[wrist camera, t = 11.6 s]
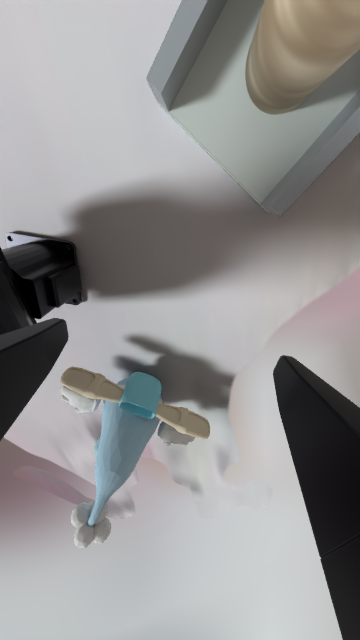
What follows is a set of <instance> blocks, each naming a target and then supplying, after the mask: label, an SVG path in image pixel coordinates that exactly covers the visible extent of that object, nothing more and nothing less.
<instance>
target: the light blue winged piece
mask: <svg viewBox="0 0 360 640" xmlns="http://www.w3.org/2000/svg"><path fill="white" fill-rule="evenodd" d="M60 382H61V383H62V385H63V387H62V388H61V393H62V394H63V395H62V396H61V399H62V400H63V401H65V402H67V403H69V404H71V405H72V406H74V407H75V409H74V411H75V412H77V413H85V412H90V411H93V412H94V411H95V410H96V409H97V407H98V405H99V403H100V401H101V400H104V406H103V410H102V431H101V437H100V438H99V439H98V441H97V442H96V444H95V448H94V449H95V456H96V463H95V480H96V488H97V493H96V500H94V501H91V502H88V503H86V502H84V503H80V504H78V505H77V506H76V507H75V508H74V509H73V512H72V515H71V523H72V525H73V526H74V527H77V529H76V532H75V536H74V543H75V544H76V546H77V547H78V548H86V547H87V546H88V545H89V544H90V543H91V542H92V540H93V541H94V542H96V543H103V542H104V541H105V540H106V539H107V537H108V536H109V534H110V530H111V523H110V521H109V520H108V518H106V515H107V512H108V509H107V504H106V502H107V501H108V500H109V498H110V497H111V496H112V494H113V493H114V492H115V491H116V490H117V489H119V488H120V487H121V486H122V485H123V484H124V483H125V481H126V480H127V479H128V477H129V476H130V475H131V473H132V472H133V470H134V468H135V466H136V464H137V462H138V460H139V458H140V456H141V454H142V452H143V450H144V448H145V446H146V444H147V443H148V441H149V440H150V438H151V436H152V435H153V433H154V432H155V430H156V428H157V425H158V423H159V421H160V420H162V423H161V424H160V426H159V429H158V436H160V438H161V440H162V441H163V443H164V444H166V445H167V446H168V445H170V444H171V443H174V444H181V445H187V444H188V442H192V441H193V440H194V438H195V437H197V438H202V439H207V438H208V437H209V434H210V425H209V422H208V420H207V419H205V418H204V417H202V416H200V415H198V414H196V413H194V412H192V411H189V410H188V409H187V408H183V407H174V406H170V405H166V404H164V403H163V402H162V398H161V395H160V394H161V390H162V386H161V383H160V381H159V380H158V379H156V378H155V377H153V376H151V375H149V374H146V373H142V372H134V373H132V374H131V375H130V377H129V378H126V379H123V380H121V381H120V382H118V383H117V384H115V383H113V382H111V381H110V380H108V379H106V378H105V376H103V375H101V374H99V373H94V372H91V371H88V370H85V369H83V368H77V367H70V368H68V369H67V370H66V371H65V372H64V373H63V374H62V376H61V380H60Z"/></svg>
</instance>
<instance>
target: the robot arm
mask: <svg viewBox="0 0 360 640" xmlns="http://www.w3.org/2000/svg"><path fill="white" fill-rule="evenodd" d="M11 237H12V238H13V240H12V239H11ZM5 240H6V244H7V248H6V249H2V250H1V248H0V441H1V439H2V438H3V437H4V435H5V434H6V433H7V431H8V430H9V428H10V427H11V426H12V424H13V423H14V421H15V420H16V419H17V417H18V416H19V414H20V413H21V412H22V410H23V409H24V407H25V406H26V405H27V403H28V402H29V400H30V399H31V398H32V396H33V395H34V394H35V392H36V391H37V389H38V388H39V387H40V385H41V384H42V382H43V381H44V380H45V378H46V377H47V375H48V374H49V372H50V371H51V369H52V368H53V366H54V364H55V362H56V361H57V359H58V357H59V355H60V353H61V352H62V350H63V348H64V346H65V345H66V343H67V341H68V331H67V325H66V321H65V320H63V319H58V318H53V319H49V320H46V321H43V322H40V323H36V320H35V318H36V319H41V318H42V317H43V316H45V315H46V314H47V313H49V312H50V311H51V310H53V309H54V308H55V307H56V308H59V307H60V306H61V305H63V304H64V303H66V304H72V305H78V304H80V303H81V301H82V299H81V289H82V288H81V279H80V270H79V266H78V265H77V256H76V248H75V245H74V244H73V243H72V242H70V241H64V240H57V239H51V238H45V237H38V236H32V235H26V234H19V233H13V232H10V233H6V234H5ZM68 245H69V246H70V247H71V250H70V249H69V248H68ZM75 299H76V300H77V301H76V300H75ZM273 376H274V383H275V389H276V395H277V402H278V407H279V411H280V415H281V419H282V423H283V426H284V430H285V433H286V437H287V441H288V444H289V448H290V451H291V455H292V459H293V462H294V466H295V469H296V473H297V476H298V480H299V484H300V487H301V491H302V494H303V498H304V501H305V505H306V509H307V512H308V516H309V519H310V523H311V526H312V530H313V534H314V537H315V541H316V545H317V548H318V552H319V555H320V557H321V563H322V567H323V570H324V574H325V577H326V581H327V585H328V588H329V592H330V595H331V599H332V603H333V606H334V609H335V613H336V616H337V620H338V624H339V628H340V631H341V634H342V638H343V640H360V408H359V407H358V406H357V405H355V404H354V403H353V402H351V401H350V400H349V399H347V398H346V397H345V396H343V395H342V394H341V393H339V392H338V391H337V390H335V389H334V388H333V387H332V386H330V385H329V384H327V383H326V382H325V381H324V380H322V379H321V378H320V377H318V376H317V375H316V374H314V373H313V372H312V371H310V370H309V369H308V368H306V367H305V366H304V365H303V364H301V363H300V362H299V361H297V360H296V359H295V358H293V357H291V356H285V355H283V356H281V357H280V359H279V360H278V362H277V365H276V367H275V369H274V372H273Z"/></svg>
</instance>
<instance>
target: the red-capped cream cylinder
mask: <svg viewBox="0 0 360 640" xmlns="http://www.w3.org/2000/svg"><path fill="white" fill-rule="evenodd" d="M359 49H360V0H265V1H264V4H263V8H262V11H261V14H260V17H259V20H258V23H257V26H256V29H255V32H254V35H253V38H252V41H251V45H250V48H249V51H248V55H247V60H246V68H245V79H246V86H247V91H248V93H249V96H250V98H251V100H252V102H253V103H254V105H255V106H256V107H257V108H258V109H259V110H261V111H262V112H264V113H267V114H271V115H279V114H283V113H286V112H289V111H291V110H292V109H294V108H296V107H297V106H298V105H299V104H301V103H302V102H303V101H304V100H305V99H306V98H307V97H308V96H309V95H310V94H311V93H312V92H313V91H315V90H316V89H317V88H318V87H319V86H320V85H321V84H322V83H323V82H324V81H325V80H326V79H328V78H329V77H330V76H331V75H332V74H333V73H334V72H335V71H336V70H337V69H338V68H339V67H341V66H342V65H343V64H344V63H345V62H346V61H347V60H348V59H349V58H350V57H351V56H352V55H353V54H355V53H356V52H357V51H358V50H359Z"/></svg>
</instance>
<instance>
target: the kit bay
mask: <svg viewBox="0 0 360 640" xmlns="http://www.w3.org/2000/svg"><path fill="white" fill-rule="evenodd" d="M264 1H265V0H182V1H181V4H180V6H179V8H178V10H177V12H176V14H175V17H174V19H173V21H172V23H171V25H170V28H169V30H168V32H167V34H166V36H165V38H164V41H163V43H162V45H161V47H160V49H159V51H158V54H157V56H156V58H155V60H154V62H153V64H152V67H151V69H150V71H149V73H148V75H147V77H146V79H147V81H148V83H149V85H150V88H151V90H152V92H153V94H154V96H155V98H156V100H157V102H158V104H159V105H160V106H161V107H162V108H163V109H164V110H165V111H166V112H167V113H168V114H169V115H170V116H171V117H172V118H173V119H174V120H175V121H176V122H177V123H178V124H179V125H180V126H181V127H182V128H183V129H184V130H185V131H186V132H187V133H188V134H189V135H190V136H191V137H192V138H193V139H194V140H195V141H196V142H197V143H198V144H199V145H200V146H201V147H202V148H203V149H204V150H205V151H206V152H207V153H208V154H209V155H210V156H211V157H212V158H213V159H214V160H215V161H216V162H217V163H218V164H219V165H220V166H221V167H222V168H223V169H224V170H225V171H226V172H227V173H228V174H229V175H230V176H231V177H232V178H233V179H234V180H235V181H236V182H237V183H238V184H239V185H240V186H241V187H242V188H243V189H244V190H245V191H246V192H247V193H248V194H249V195H250V196H251V197H252V198H253V199H254V200H255V201H256V202H257V203H258V204H259V205H260V206H261V207H262V208H263V209H264V210H265V211H266V212H267V213H271V214H275V215H279V216H282V215H283V214H284V213H285V211H286V210H287V209H288V208H289V207H290V206H291V205H292V204H293V203H294V202H295V201H296V200H297V199H298V198H299V197H300V195H301V194H302V193H303V192H304V191H305V190H306V189H307V188H308V187H309V186H310V185H311V184H312V183H313V182H314V181H315V179H316V178H317V177H318V176H319V175H320V174H321V173H322V172H323V171H324V170H325V169H326V168H327V167H328V166H329V165H330V163H331V162H332V161H333V160H334V159H335V158H336V157H337V156H338V155H339V154H340V153H341V152H342V151H343V150H344V149H345V147H346V146H347V145H348V144H349V143H350V142H351V141H352V140H353V139H354V138H355V137H356V136H357V135H358V134H359V133H360V49H359V50H358V51H357V52H356V53H355V54H353V55H352V56H351V57H350V58H349V59H348V60H347V61H346V62H345V63H344V64H343V65H342V66H341V67H339V68H338V69H337V70H336V71H335V72H334V73H333V74H332V75H331V76H330V77H329V78H328V79H326V80H325V81H324V82H323V83H322V84H321V85H320V86H319V87H318V88H317V89H316V90H315V91H313V92H312V93H311V94H310V95H309V96H308V97H307V98H306V99H305V100H304V101H303V102H302V103H301V104H299V105H298V106H297V107H296V108H294V109H292V110H291V111H289V112H286V113H283V114H279V115H271V114H267V113H264V112H262V111H261V110H259V109H258V108H257V107H256V106H255V105H254V103H253V102H252V100H251V98H250V96H249V93H248V91H247V86H246V79H245V68H246V60H247V55H248V51H249V48H250V45H251V41H252V38H253V35H254V32H255V29H256V26H257V23H258V20H259V17H260V14H261V11H262V8H263V4H264Z"/></svg>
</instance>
